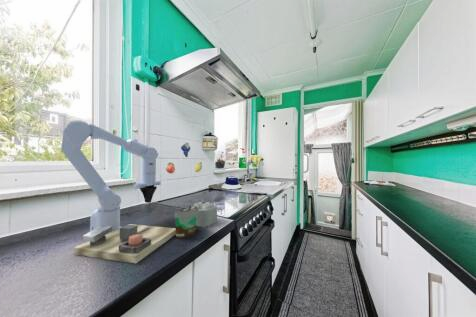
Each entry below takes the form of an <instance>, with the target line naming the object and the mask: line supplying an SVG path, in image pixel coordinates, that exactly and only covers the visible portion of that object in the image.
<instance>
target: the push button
mask: <svg viewBox="0 0 476 317" xmlns="http://www.w3.org/2000/svg"><path fill="white" fill-rule="evenodd" d="M142 240H143V235H142V234H136V235H132V236H130V237H129V245H128V246H135V247H136V246H138V245H140V244H141V243H142Z"/></svg>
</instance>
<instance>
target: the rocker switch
mask: <svg viewBox="0 0 476 317" xmlns="http://www.w3.org/2000/svg"><path fill="white" fill-rule="evenodd" d="M112 231H113V230H112V226H103V225H102V226H100V227H98V228H97V229H95V230H93V231H91V232H90V231H88V232H89V233H88V232H87V233H85V234H83V235H82V239H83V241H85V242H88V241H90V242H95V241H97V240H98V239H100V238H102V237H103V236H105V235H107V234H108V233H110V232H112Z"/></svg>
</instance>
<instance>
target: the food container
mask: <svg viewBox="0 0 476 317" xmlns="http://www.w3.org/2000/svg"><path fill="white" fill-rule="evenodd" d="M198 213H199V209H198V207H197V206H196V205H194V204H189V206H188V207H185V208H183V209H181V210H180V211H174V217H173V218H174V219H175V222H174V224H175V228H176V235H175V238H176V239H186V238H190V237H192V236H194V235H195V234H196V232H197V231H196V230H197V226H196V221H197V214H198Z"/></svg>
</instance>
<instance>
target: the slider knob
mask: <svg viewBox="0 0 476 317" xmlns="http://www.w3.org/2000/svg"><path fill="white" fill-rule="evenodd" d="M137 225H138V224H134V225H129V224H126V225H123V226H120V227H121V228H120V240H129V237H130V236H132V235H136V234H137Z"/></svg>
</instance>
